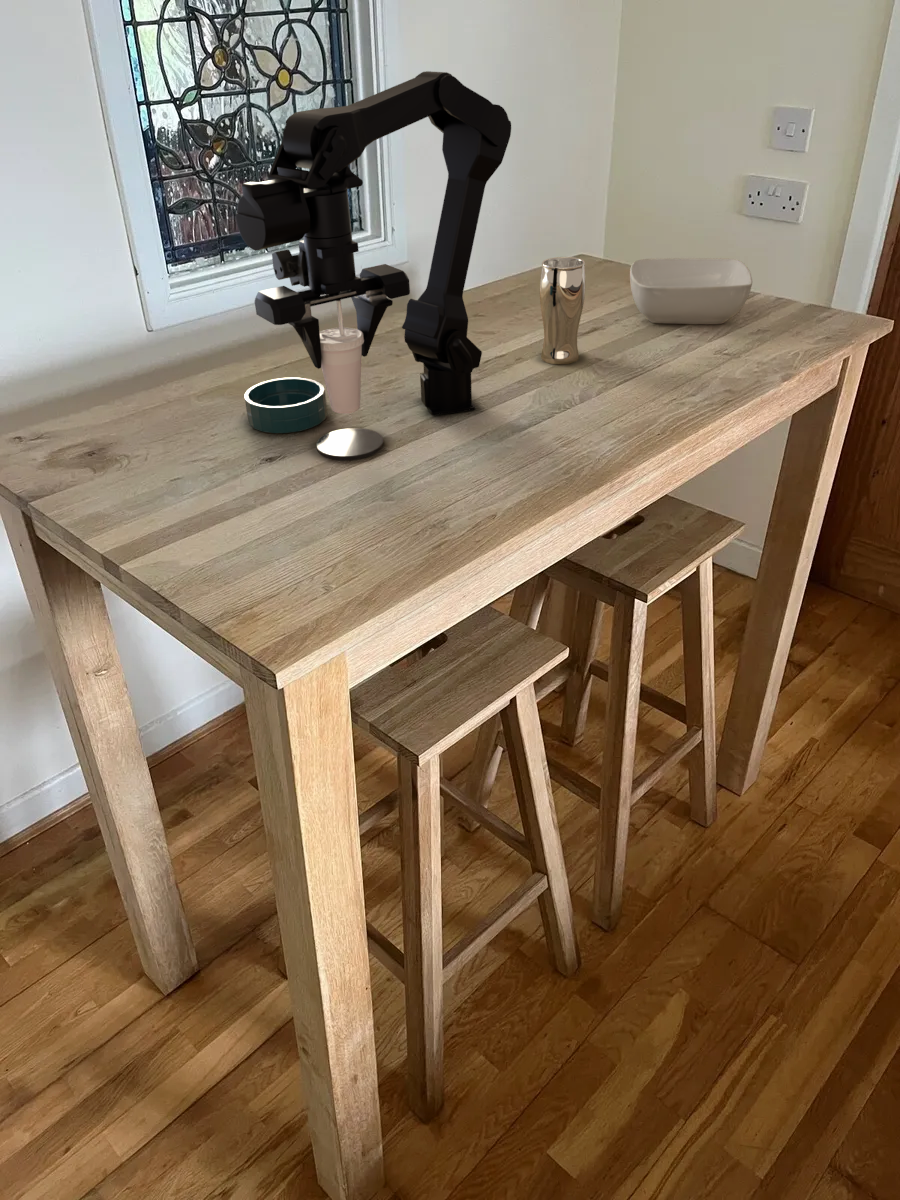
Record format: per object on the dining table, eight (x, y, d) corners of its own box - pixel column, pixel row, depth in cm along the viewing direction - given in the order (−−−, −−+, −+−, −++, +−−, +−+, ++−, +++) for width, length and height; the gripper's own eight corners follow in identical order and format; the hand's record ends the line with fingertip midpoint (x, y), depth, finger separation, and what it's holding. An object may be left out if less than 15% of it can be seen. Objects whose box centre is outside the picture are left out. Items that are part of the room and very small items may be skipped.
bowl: (626, 296, 174) (629, 254, 170) (736, 296, 171) (743, 254, 167) (628, 331, 157) (631, 285, 153) (751, 332, 154) (758, 286, 150)
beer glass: (532, 363, 146) (534, 266, 137) (545, 348, 151) (548, 255, 143) (575, 367, 144) (579, 269, 135) (586, 353, 149) (591, 257, 140)
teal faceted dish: (321, 399, 136) (318, 373, 134) (332, 428, 127) (329, 401, 125) (246, 409, 134) (241, 383, 132) (252, 439, 125) (247, 412, 123)
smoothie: (362, 418, 117) (351, 309, 109) (314, 416, 118) (300, 307, 110) (375, 399, 122) (366, 293, 114) (330, 397, 123) (317, 292, 115)
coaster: (376, 428, 127) (376, 424, 127) (389, 455, 120) (389, 450, 120) (312, 437, 125) (311, 432, 125) (321, 464, 118) (321, 460, 118)
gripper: (361, 209, 117) (372, 330, 126) (226, 234, 109) (247, 361, 118) (408, 224, 109) (415, 351, 118) (265, 252, 101) (285, 386, 110)
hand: (341, 361), depth 116 cm, fingers closed on smoothie, 6 cm apart
